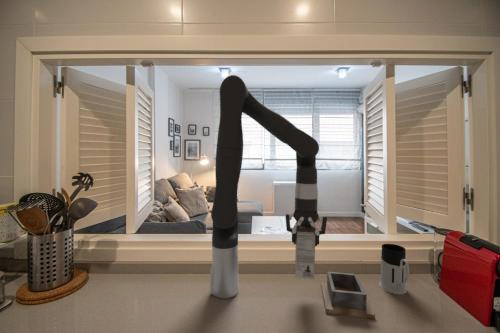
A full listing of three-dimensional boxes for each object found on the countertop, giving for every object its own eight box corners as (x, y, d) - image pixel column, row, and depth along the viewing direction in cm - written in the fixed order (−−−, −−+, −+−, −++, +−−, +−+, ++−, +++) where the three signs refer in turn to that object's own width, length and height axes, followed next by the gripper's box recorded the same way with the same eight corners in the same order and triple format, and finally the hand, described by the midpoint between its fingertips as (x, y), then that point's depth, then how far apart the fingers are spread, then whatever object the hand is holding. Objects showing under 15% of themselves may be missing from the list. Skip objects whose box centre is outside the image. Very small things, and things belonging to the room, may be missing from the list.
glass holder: (398, 281, 91) (399, 243, 91) (421, 304, 77) (422, 259, 77) (375, 280, 92) (375, 242, 92) (393, 303, 78) (394, 258, 78)
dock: (325, 312, 73) (326, 293, 73) (321, 285, 89) (321, 269, 89) (374, 318, 70) (375, 298, 70) (361, 289, 86) (361, 272, 86)
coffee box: (295, 265, 87) (296, 222, 87) (313, 267, 86) (314, 223, 85) (295, 277, 78) (295, 229, 78) (315, 280, 77) (316, 231, 76)
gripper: (284, 197, 79) (283, 246, 79) (329, 199, 76) (328, 250, 77) (285, 193, 86) (284, 239, 87) (326, 195, 83) (325, 242, 84)
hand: (305, 244), depth 82 cm, fingers closed on coffee box, 6 cm apart
